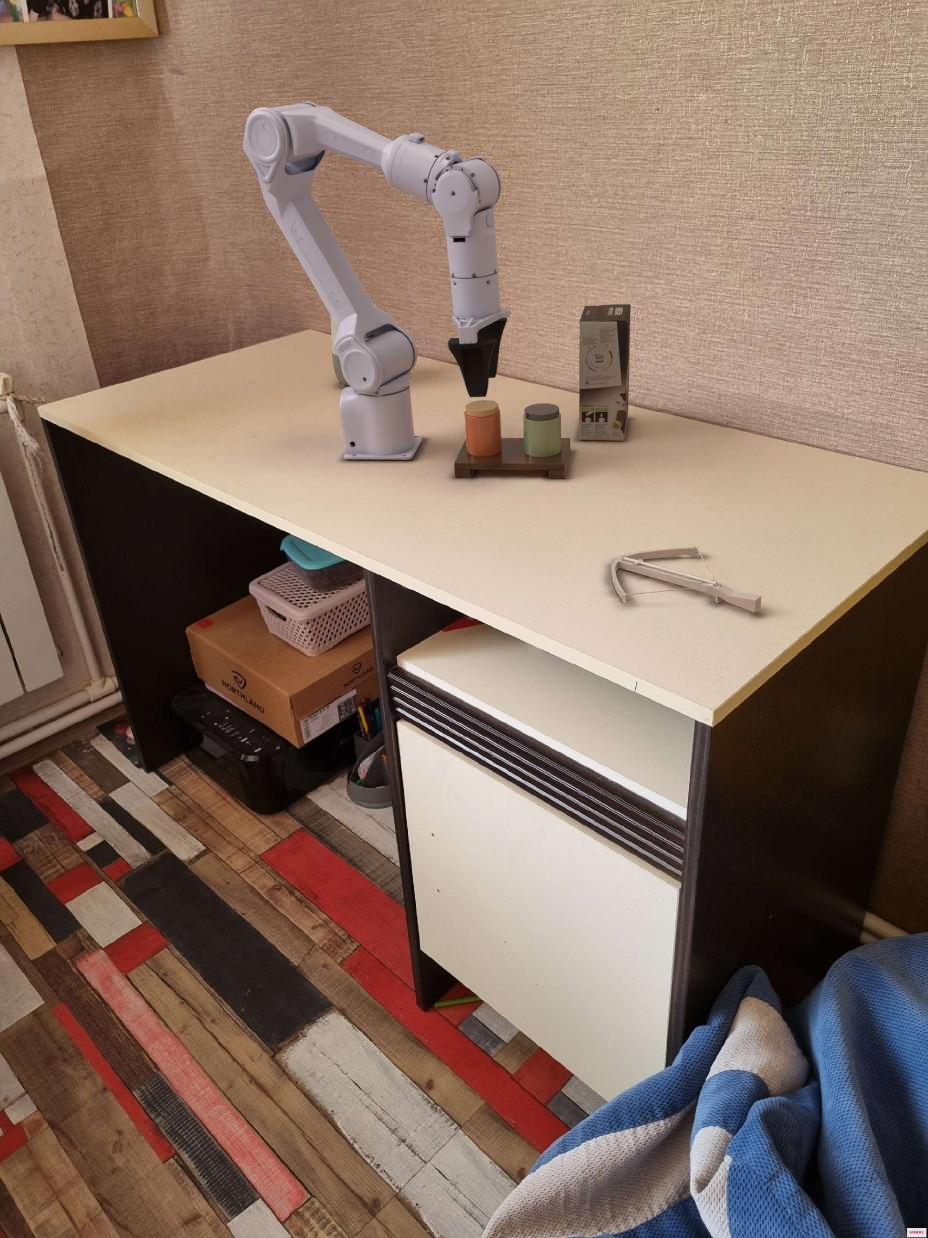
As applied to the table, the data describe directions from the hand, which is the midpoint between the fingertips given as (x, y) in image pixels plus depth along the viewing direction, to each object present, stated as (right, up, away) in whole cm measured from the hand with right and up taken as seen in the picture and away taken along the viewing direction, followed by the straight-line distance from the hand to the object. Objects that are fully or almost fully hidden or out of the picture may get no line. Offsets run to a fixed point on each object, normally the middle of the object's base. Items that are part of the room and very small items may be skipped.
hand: (483, 386), depth 119 cm
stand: (+4, -9, +5) cm, 11 cm away
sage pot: (+8, -7, +3) cm, 11 cm away
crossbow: (+19, -26, -25) cm, 41 cm away
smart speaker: (-19, +10, +40) cm, 45 cm away
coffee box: (+17, -3, +14) cm, 22 cm away
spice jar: (0, -7, +4) cm, 8 cm away
